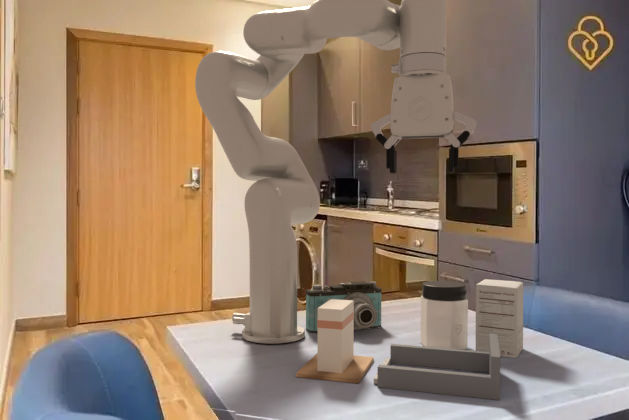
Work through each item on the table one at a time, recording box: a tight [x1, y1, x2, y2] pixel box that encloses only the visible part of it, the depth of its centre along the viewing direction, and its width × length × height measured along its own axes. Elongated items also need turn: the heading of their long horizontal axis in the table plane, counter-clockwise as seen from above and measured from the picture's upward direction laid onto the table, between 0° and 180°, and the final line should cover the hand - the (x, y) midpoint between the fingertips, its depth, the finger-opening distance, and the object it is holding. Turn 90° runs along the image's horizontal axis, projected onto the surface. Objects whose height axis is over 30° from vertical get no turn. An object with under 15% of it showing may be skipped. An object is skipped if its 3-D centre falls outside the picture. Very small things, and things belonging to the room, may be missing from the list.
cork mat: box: [295, 352, 375, 384], centre depth 89 cm, size 10×12×1 cm
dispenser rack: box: [373, 334, 501, 401], centre depth 84 cm, size 18×13×6 cm
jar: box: [420, 280, 469, 350], centre depth 102 cm, size 9×8×12 cm
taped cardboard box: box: [316, 299, 355, 373], centre depth 89 cm, size 4×8×10 cm, turn 163°
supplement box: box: [475, 278, 524, 359], centre depth 100 cm, size 7×7×13 cm
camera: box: [305, 280, 382, 334], centre depth 113 cm, size 16×10×10 cm, turn 108°
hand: (421, 172), depth 90 cm, fingers open, 9 cm apart
